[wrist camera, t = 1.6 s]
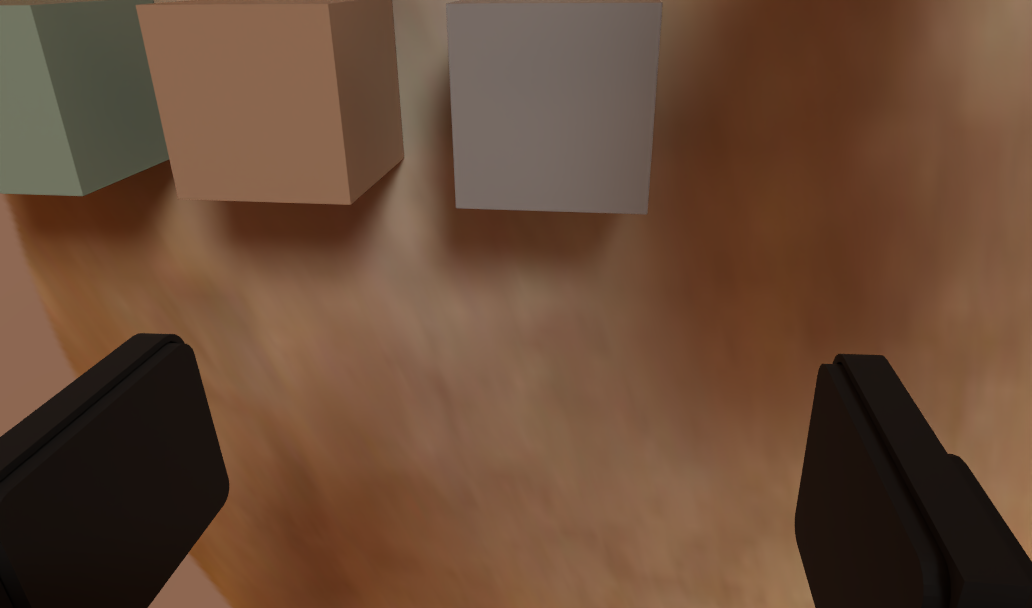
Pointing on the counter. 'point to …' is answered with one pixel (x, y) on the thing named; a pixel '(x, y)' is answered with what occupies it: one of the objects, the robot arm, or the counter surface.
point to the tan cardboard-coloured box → (275, 97)
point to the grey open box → (553, 103)
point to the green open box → (74, 97)
